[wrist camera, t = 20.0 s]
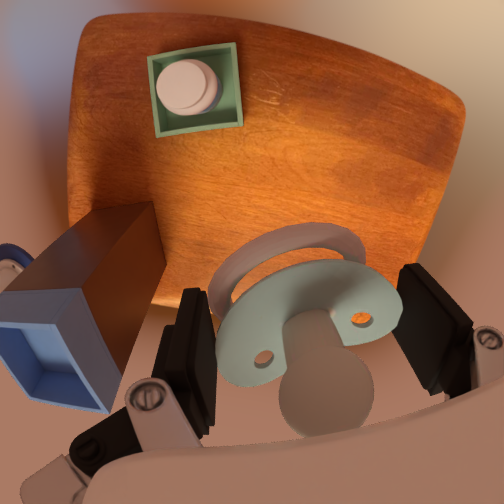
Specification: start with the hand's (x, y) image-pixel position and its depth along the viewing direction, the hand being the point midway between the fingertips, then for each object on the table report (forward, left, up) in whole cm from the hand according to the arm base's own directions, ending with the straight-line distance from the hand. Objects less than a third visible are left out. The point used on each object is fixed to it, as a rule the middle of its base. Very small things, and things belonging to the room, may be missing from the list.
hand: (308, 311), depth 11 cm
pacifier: (0, 0, -2) cm, 2 cm away
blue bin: (-20, -9, -31) cm, 38 cm away
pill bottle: (-7, +10, -31) cm, 33 cm away
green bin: (-7, +10, -31) cm, 33 cm away
